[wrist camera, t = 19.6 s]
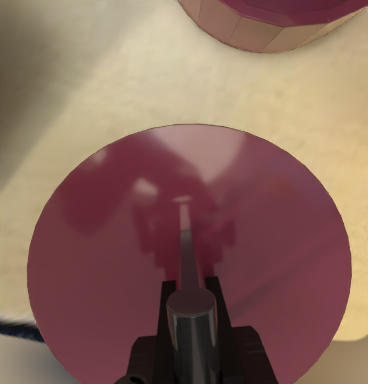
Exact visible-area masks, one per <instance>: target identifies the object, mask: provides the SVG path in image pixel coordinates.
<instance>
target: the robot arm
mask: <svg viewBox="0 0 368 384" xmlns="http://www.w3.org/2000/svg"><path fill="white" fill-rule="evenodd" d="M205 289H207V290H209V291H211V292H212V293H213V294H214V296H215V298H216V304H217V318H218V332H219V345H220V359H221V375H222V384H279V383H278V381H277V379H276V376H275V374H274V371H273V368H272V366H271V363H270V361H269V358H268V356H267V353H266V352H265V348H264V346H263V344H262V341H261V338H260V336H259V333H258V332H257V331H256V330H255V329H254V328H253V327H252V326H251V325H250V326H240V327H232V326H231V322H230V318H229V315H228V311H227V307H226V304H225V300H224V297H223V293H222V289H221V286H220V282H219V278H218V276H213V277H205ZM175 291H177V288H176V280H170V281H162V289H161V298H160V308H159V318H158V328H157V335H152V336H142V337H138V338H137V339H136V341H135V342H134V344H133V345H132V348H131V353H130V358H129V363H128V367H127V372H126V375H125V376H123V377H121V378H120V379H118V380H117V381H116V382H115V383H114V384H176V383H175V374H174V367H173V359H172V350H171V342H170V333H169V324H168V316H167V307H166V303H167V300H168V298H169V296H170V295H171V294H172V293H174V292H175Z"/></svg>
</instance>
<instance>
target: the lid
mask: <svg viewBox="0 0 368 384" xmlns="http://www.w3.org/2000/svg"><path fill="white" fill-rule="evenodd" d="M213 276H218V278H219V282H220V286H221V289H222V293H223V297H224V300H225V304H226V307H227V311H228V315H229V318H230V322H231V326H232V327H240V326H250V325H251V326H252V327H253V328H254V329H255V330H256V331H257V332H258V333H259V336H260V338H261V341H262V344H263V346H264V348H265V352H266V353H267V356H268V358H269V361H270V363H271V366H272V368H273V371H274V374H275V376H276V379H277V381H278V383H279V384H293V383H294V382H295V381H297V380H298V379H299V378H300V377H302V376H303V375H304V374H305V373H306V372H307V371H308V370H309V369H310V368H311V367H312V366H313V365H314V364H315V362H317V360H318V359H319V358H320V356H321V355H322V354H323V352H324V351H325V350H326V348H327V347H328V346H329V344H330V342H331V340H332V339H333V337H334V335H335V333H336V332H337V330H338V328H339V325H340V323H341V320H342V318H343V315H344V313H345V310H346V306H347V302H348V298H349V294H350V286H351V277H352V266H351V252H350V246H349V240H348V235H347V232H346V229H345V226H344V223H343V220H342V217H341V215H340V213H339V211H338V209H337V207H336V205H335V203H334V201H333V199H332V198H331V196H330V195H329V193H328V192H327V191H326V189H325V188H324V186H323V185H322V184H321V182H320V181H319V180H318V179H317V178H316V177H315V176H314V175H313V174H312V173H311V171H310V170H309V169H308V168H307V167H306V166H305V165H303V164H302V163H301V162H300V161H298V160H297V159H296V158H294V157H293V156H292V155H291V154H289V153H288V152H287V151H285V150H283V149H281V148H280V147H278V146H276V145H274V144H273V143H271V142H269V141H267V140H265V139H262V138H260V137H257V136H255V135H252V134H250V133H247V132H244V131H240V130H236V129H232V128H228V127H224V126H216V125H207V124H174V125H168V126H162V127H156V128H151V129H147V130H144V131H141V132H137V133H134V134H131V135H128V136H126V137H124V138H121V139H119V140H117V141H115V142H113V143H111V144H108V145H107V146H105V147H103V148H102V149H100V150H99V151H97V152H96V153H94V154H93V155H91V156H89V157H88V158H87V159H86V160H84V161H83V162H82V163H81V164H80V165H79V166H77V167H76V168H75V169H74V170H73V171H72V172H70V174H69V175H68V176H67V177H66V178H65V179H64V180H63V182H62V183H61V184H60V185H59V186H58V187H57V188H56V190H55V191H54V193H53V194H52V196H51V197H50V199H49V200H48V202H47V204H46V205H45V207H44V209H43V211H42V213H41V215H40V217H39V220H38V222H37V224H36V226H35V230H34V233H33V236H32V240H31V243H30V248H29V255H28V263H27V287H28V293H29V300H30V305H31V309H32V312H33V315H34V318H35V321H36V324H37V326H38V328H39V331H40V333H41V335H42V337H43V339H44V341H45V342H46V344H47V346H48V347H49V348H50V350H51V352H52V353H53V355H54V356H55V357H56V359H57V360H58V361H59V362H60V363H61V364H62V365H63V367H64V368H65V369H66V370H67V371H68V372H69V373H70V374H71V375H72V376H73V377H74V378H75V379H77V380H78V381H79V382H80V383H81V384H114V383H115V382H116V381H117V380H118V379H120V378H121V377H123V376H125V375H126V372H127V367H128V363H129V358H130V353H131V348H132V345H133V344H134V342H135V341H136V339H137V338H138V337H142V336H152V335H157V328H158V318H159V308H160V298H161V289H162V281H170V280H176V288H177V291H175V292H174V293H172V294H171V295H170V296H169V298H168V300H167V303H166V307H167V316H168V324H169V333H170V342H171V350H172V359H173V367H174V374H175V383H176V384H222V375H221V359H220V345H219V332H218V318H217V304H216V298H215V296H214V294H213V293H212V292H211V291H209V290H207V289H205V277H213Z"/></svg>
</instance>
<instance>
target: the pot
mask: <svg viewBox="0 0 368 384" xmlns="http://www.w3.org/2000/svg"><path fill="white" fill-rule="evenodd" d="M178 1H179V3H180V4H181V5H182V7H183V8H184V10H185V11H186V12H187V14H188V15H189V16H190V17H191V18H192V19H193V20H194V22H195V23H196V24H197V25H198V26H199V27H201V28H202V29H203V30H204V31H206V32H207V33H208V34H209V35H211V36H212V37H214V38H216V39H217V40H219V41H221V42H223V43H225V44H227V45H230V46H232V47H234V48H238V49H242V50H245V51H251V52H259V53H270V52H280V51H286V50H293V49H295V48H298V47H300V46H303V45H305V44H307V43H309V42H312V41H314V40H316V39H318V38H320V37H322V36H324V35H326V34H328V33H329V32H331V31H332V30H334V29H335V28H337V27H338V26H339V25H341V24H342V23H344V22H345V21H347V20H348V19H350V18H351V17H353V16H354V15H356V14H357V13H359V12H360V11H362V10H363V9H365V8H366V7H368V0H178Z"/></svg>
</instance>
